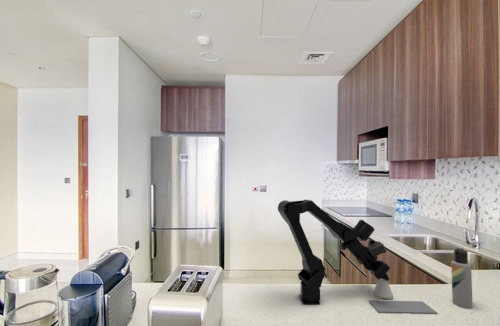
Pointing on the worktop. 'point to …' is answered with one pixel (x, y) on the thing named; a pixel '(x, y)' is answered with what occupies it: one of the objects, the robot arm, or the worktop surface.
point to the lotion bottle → (461, 279)
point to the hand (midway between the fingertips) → (386, 278)
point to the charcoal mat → (402, 307)
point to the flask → (383, 289)
